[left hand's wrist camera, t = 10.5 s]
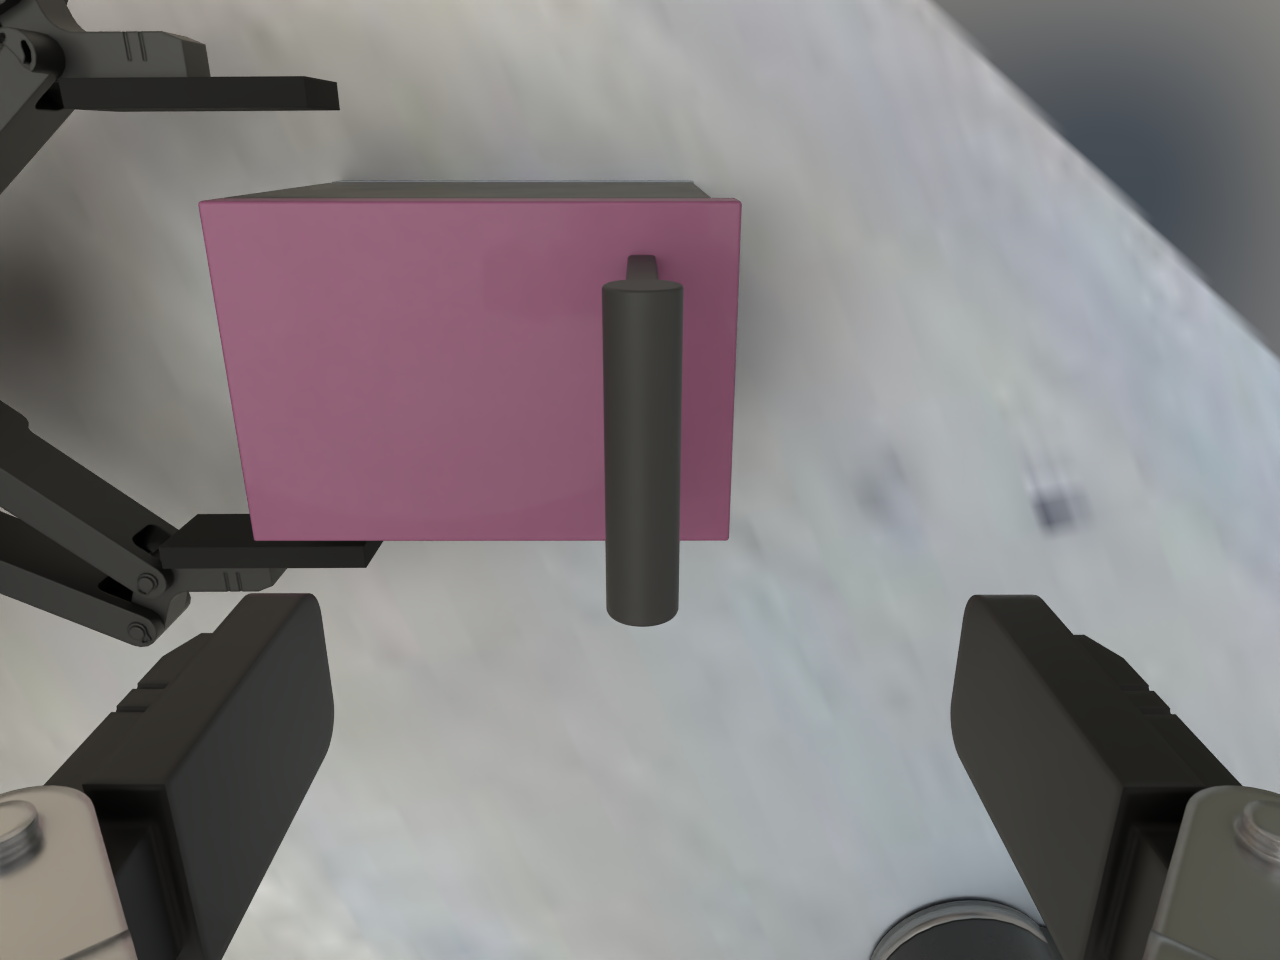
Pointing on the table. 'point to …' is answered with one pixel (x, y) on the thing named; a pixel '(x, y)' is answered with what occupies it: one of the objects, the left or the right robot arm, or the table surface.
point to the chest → (490, 189)
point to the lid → (485, 372)
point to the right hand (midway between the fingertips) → (353, 336)
